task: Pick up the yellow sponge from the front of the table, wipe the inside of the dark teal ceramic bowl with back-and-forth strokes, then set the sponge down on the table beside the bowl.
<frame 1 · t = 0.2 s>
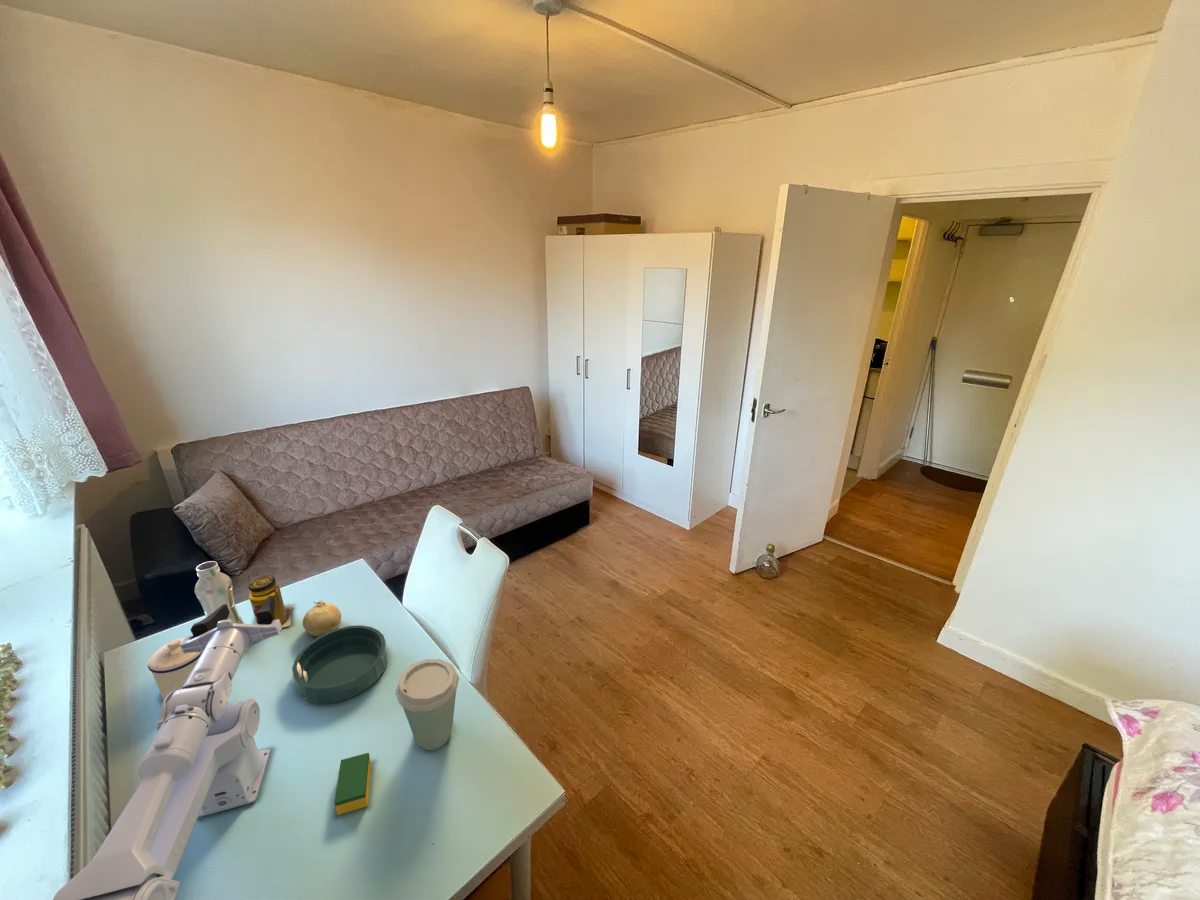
hand: (249, 604, 92), 21 cm above the table, tool horizontal, fingers open, 7 cm apart
bowl: (344, 670, 105), on the table
condiment: (274, 620, 119), on the table
onion: (324, 629, 116), on the table
sponge: (355, 788, 82), on the table
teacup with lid: (187, 683, 101), on the table
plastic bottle: (229, 639, 113), on the table
disposable coffee cup: (435, 736, 92), on the table
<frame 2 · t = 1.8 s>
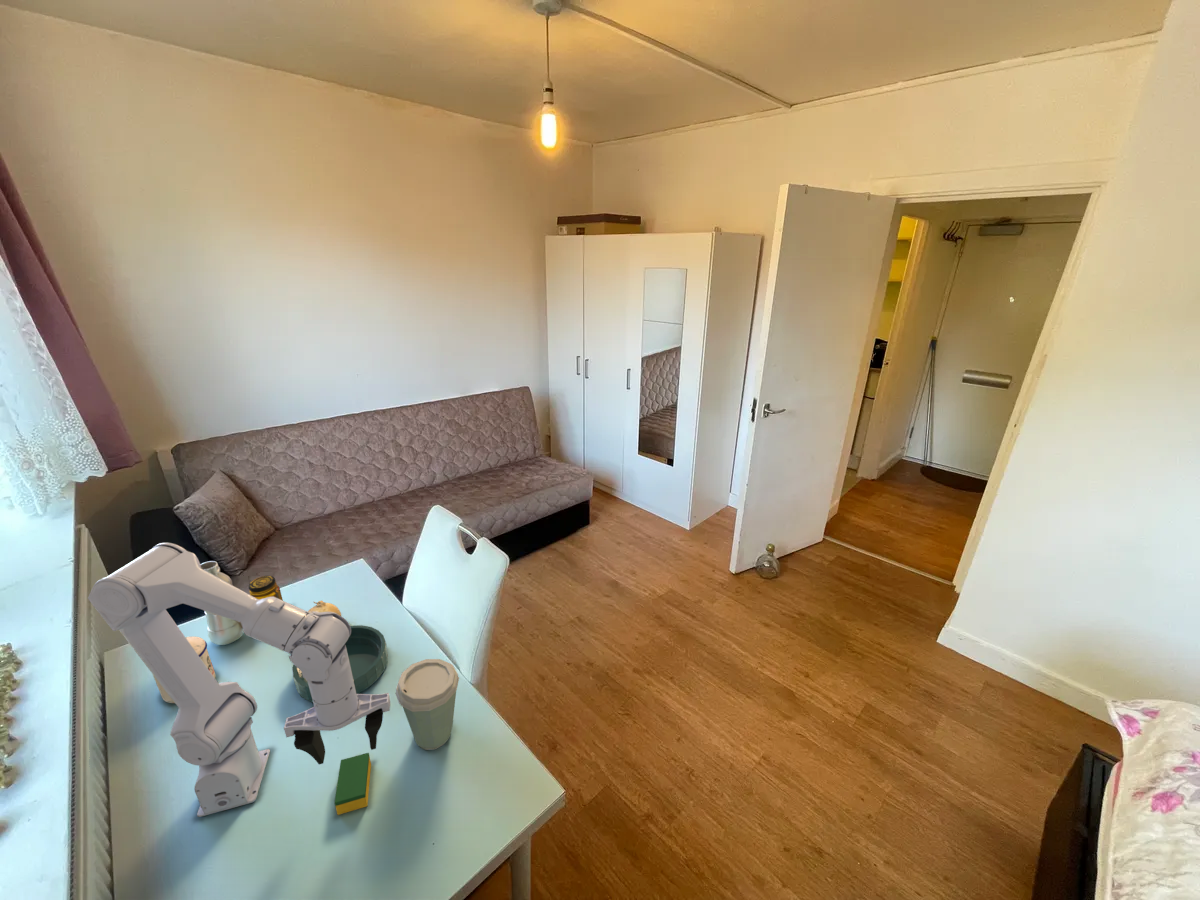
hand: (348, 751, 79), 9 cm above the table, tool pointing down, fingers open, 7 cm apart
nothing on the table moved.
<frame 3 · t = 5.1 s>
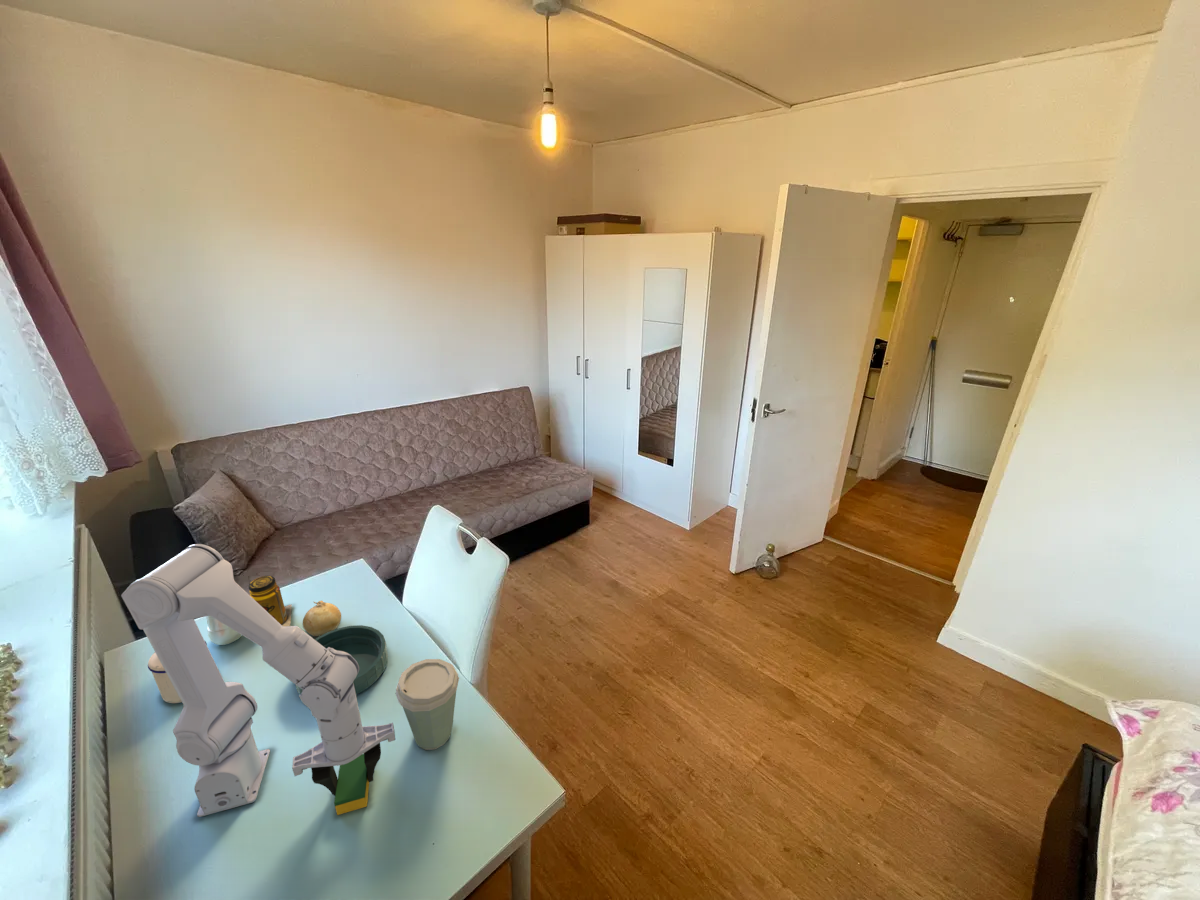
hand: (353, 782, 82), 1 cm above the table, tool pointing down, fingers closed on sponge, 4 cm apart
sponge: (354, 788, 82), on the table, touching gripper
everything else where it was.
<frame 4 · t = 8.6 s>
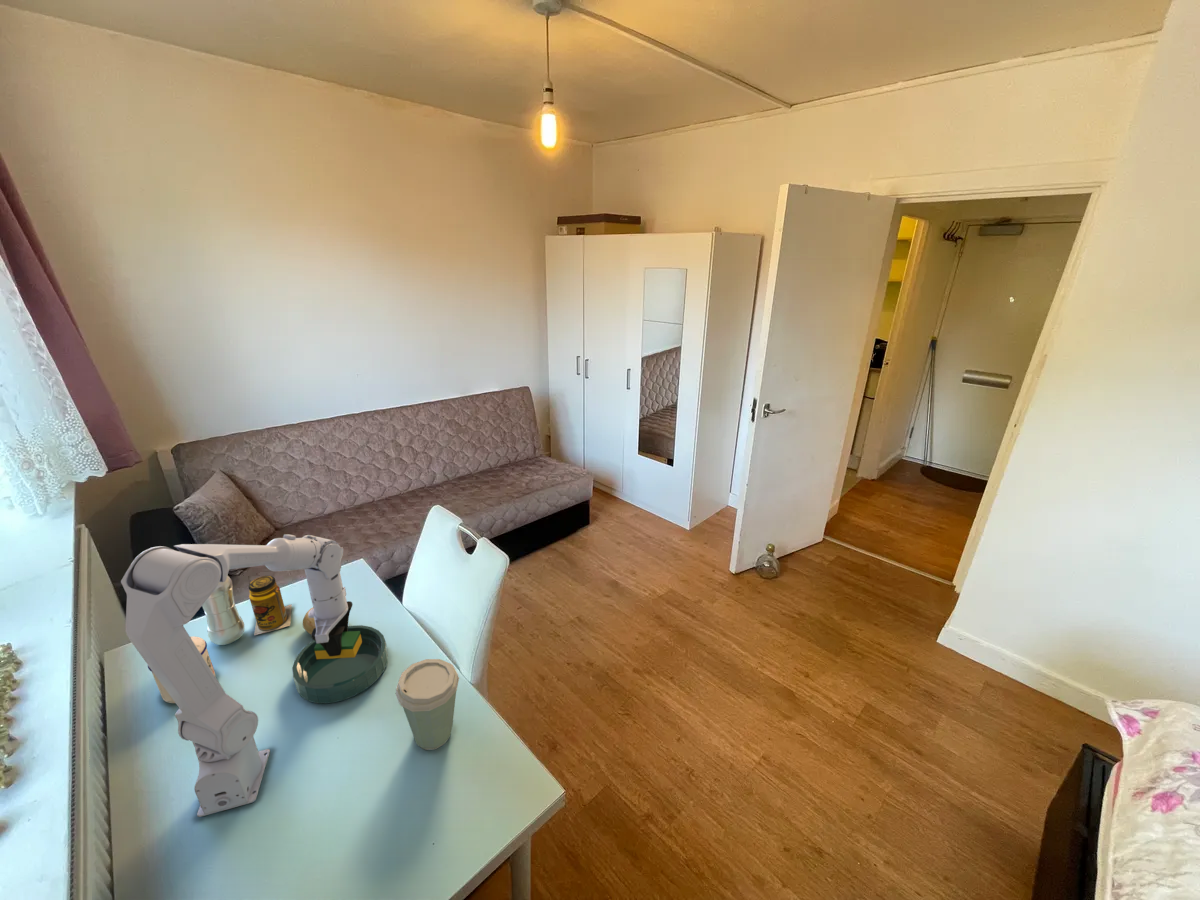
hand: (338, 645, 102), 8 cm above the table, tool pointing down, fingers closed on sponge, 5 cm apart
sponge: (339, 650, 102), point 6 cm above the table, touching gripper
everything else where it was.
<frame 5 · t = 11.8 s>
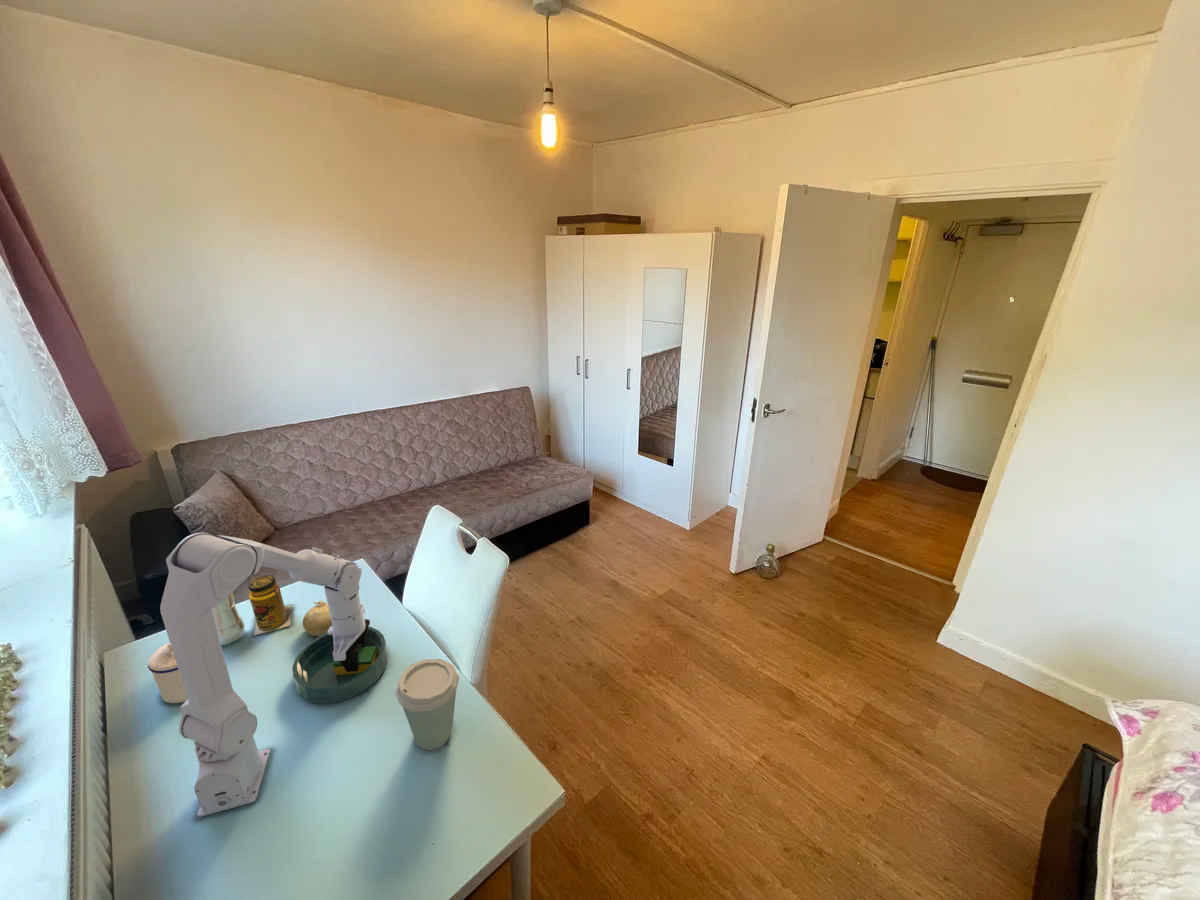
hand: (355, 661, 105), 2 cm above the table, tool pointing down, fingers closed on sponge, 4 cm apart
sponge: (357, 665, 106), point 1 cm above the table, touching gripper
everything else where it was.
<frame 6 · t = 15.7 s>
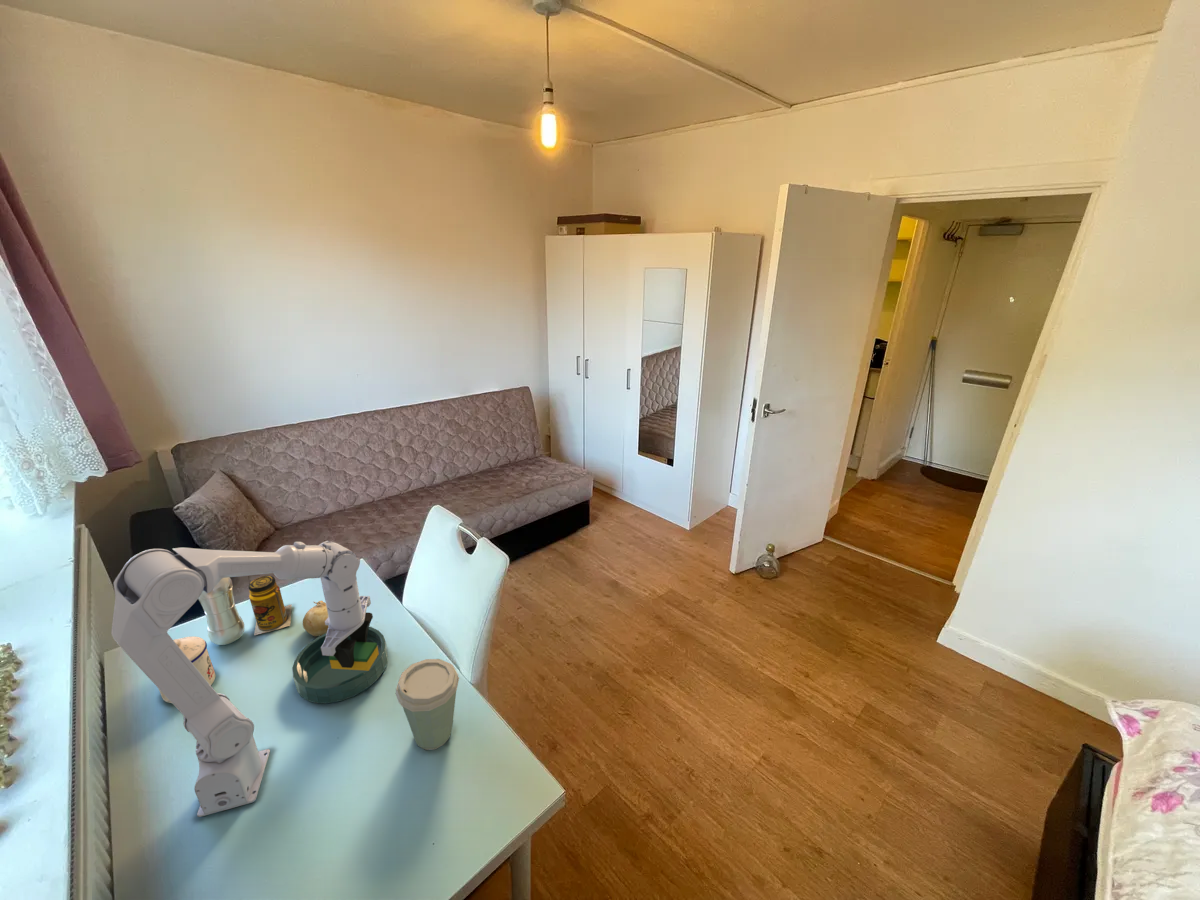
hand: (354, 656, 98), 8 cm above the table, tool pointing down, fingers closed on sponge, 4 cm apart
sponge: (355, 661, 98), point 7 cm above the table, touching gripper
everything else where it was.
when the fingers open (1 cm above the table, at t = 18.7 s): sponge stays where it is, on the table.
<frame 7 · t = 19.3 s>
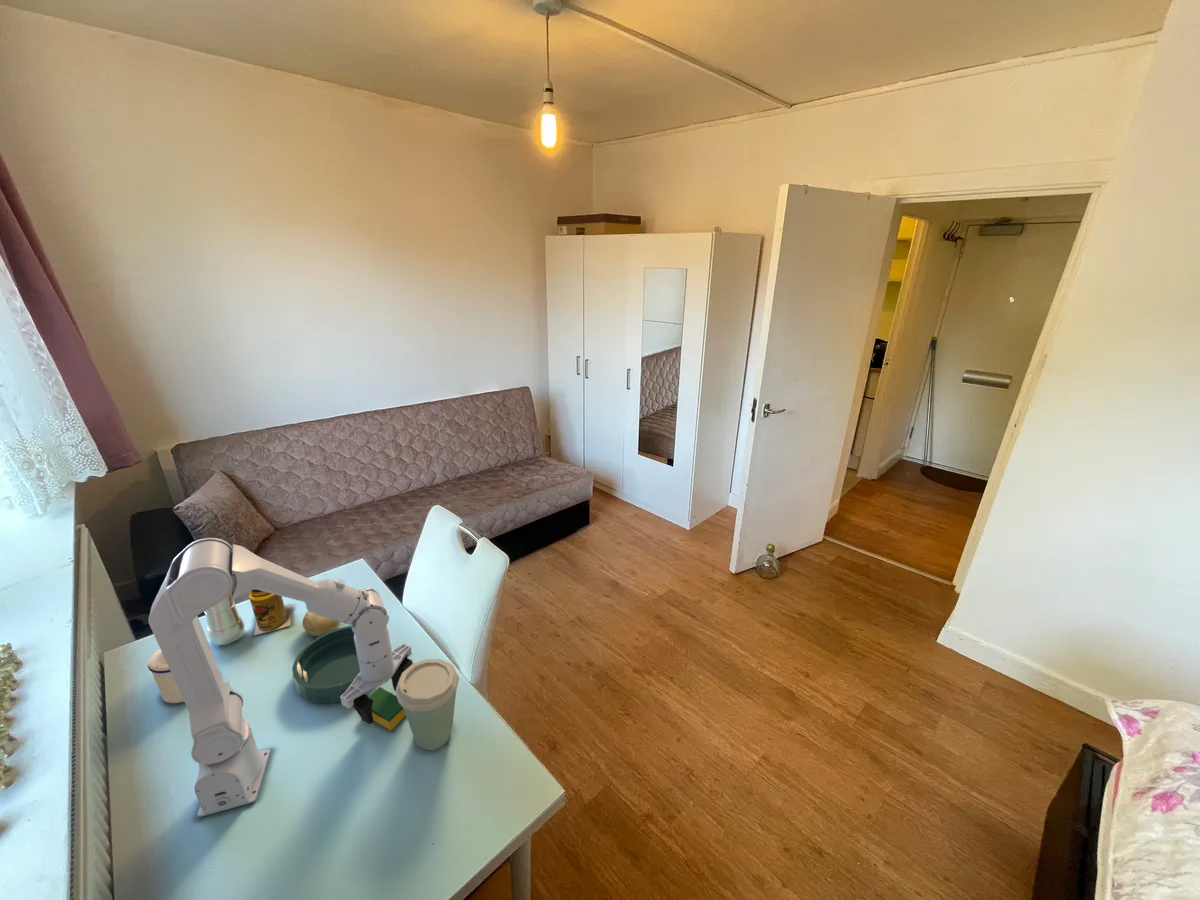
hand: (384, 705, 95), 2 cm above the table, tool pointing down, fingers open, 7 cm apart
sponge: (386, 713, 96), on the table
everything else where it was.
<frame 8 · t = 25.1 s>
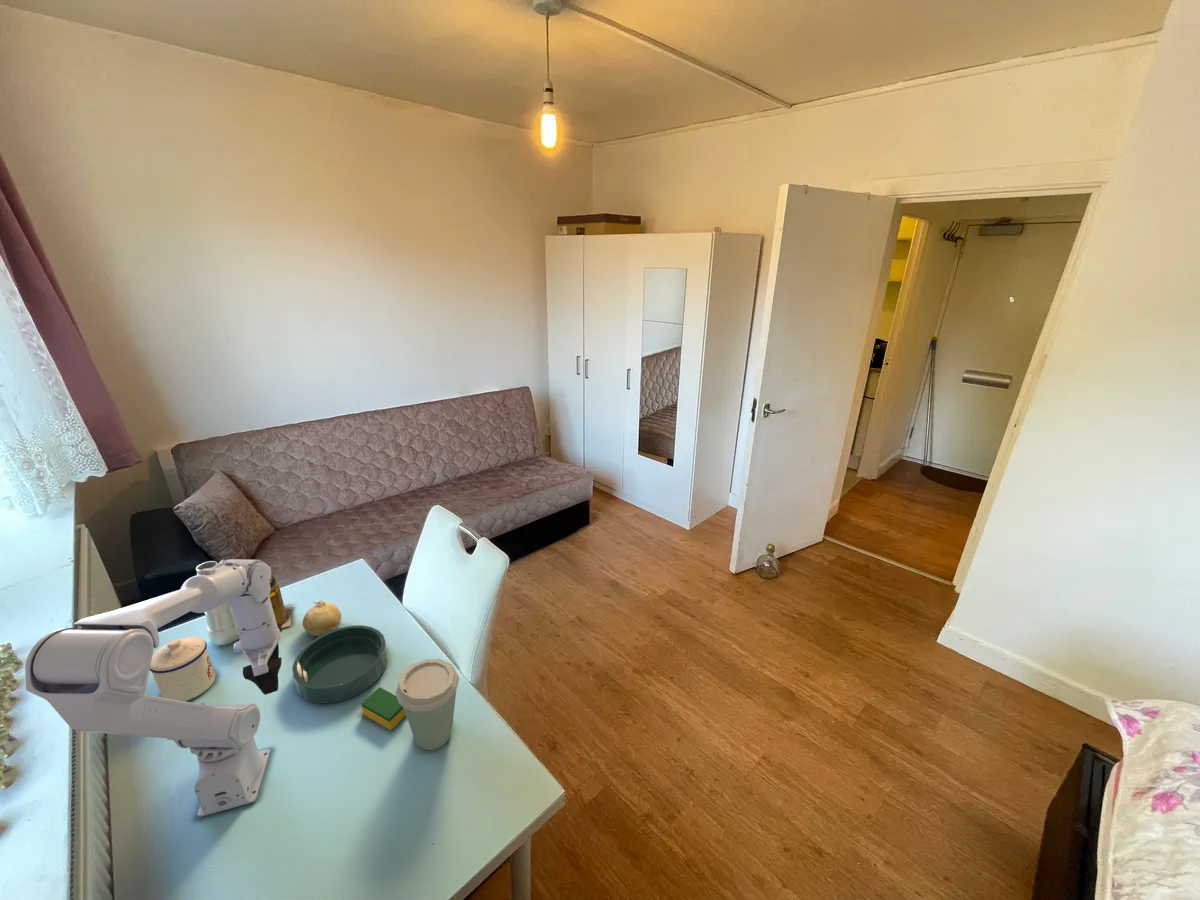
hand: (271, 676, 91), 9 cm above the table, tool pointing down, fingers open, 7 cm apart
nothing on the table moved.
at the end: sponge inside the target area (0.1 cm from its centre), on the table; bowl moved 0.0 cm from its start; the gripper is holding nothing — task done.
